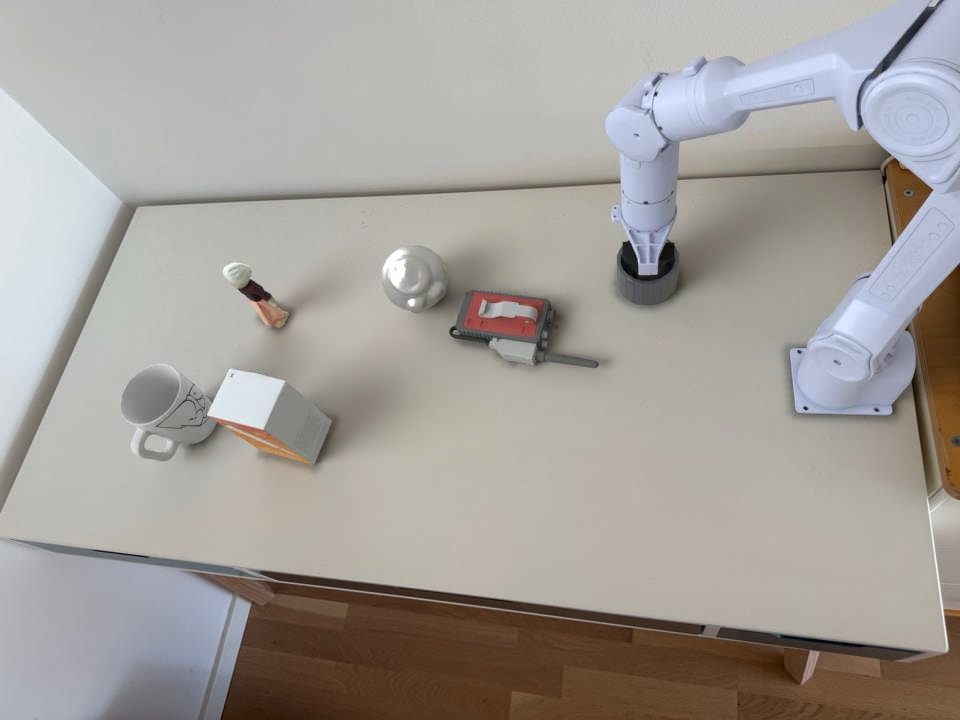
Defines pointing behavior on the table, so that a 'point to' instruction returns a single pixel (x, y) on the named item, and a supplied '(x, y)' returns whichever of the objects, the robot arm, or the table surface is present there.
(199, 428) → the mug
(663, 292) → the cylindrical container
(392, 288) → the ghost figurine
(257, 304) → the grandmother figurine
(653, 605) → the table surface
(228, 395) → the small box
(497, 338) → the walkie-talkie
